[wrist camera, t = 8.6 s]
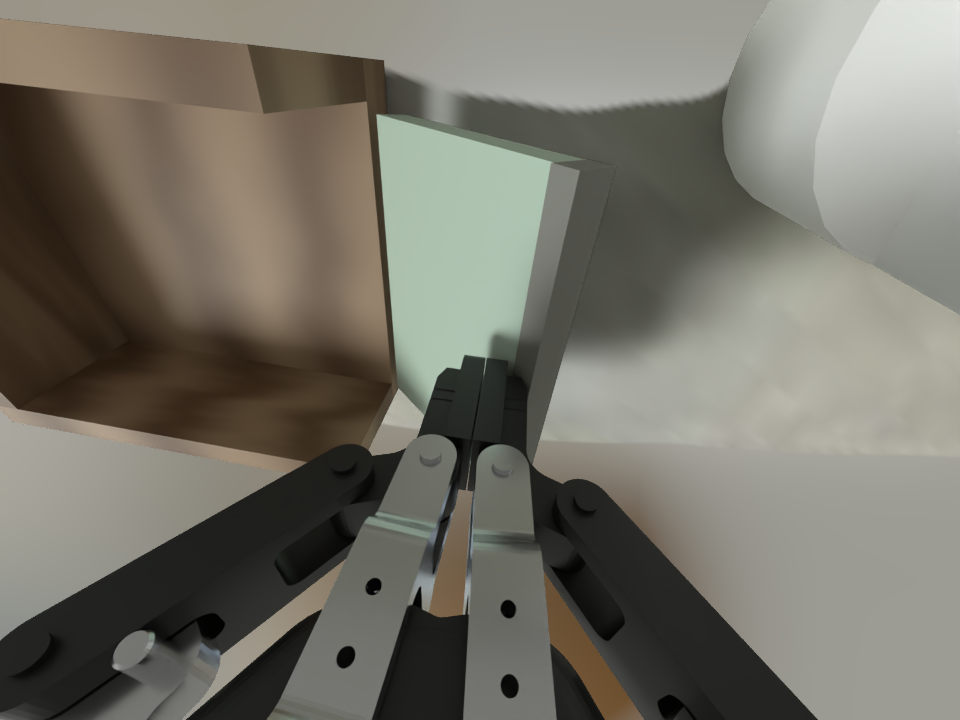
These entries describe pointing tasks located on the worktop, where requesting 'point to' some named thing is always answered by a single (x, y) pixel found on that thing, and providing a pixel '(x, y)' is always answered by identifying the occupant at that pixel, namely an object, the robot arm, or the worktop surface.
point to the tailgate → (484, 253)
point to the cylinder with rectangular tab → (857, 130)
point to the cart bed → (192, 244)
